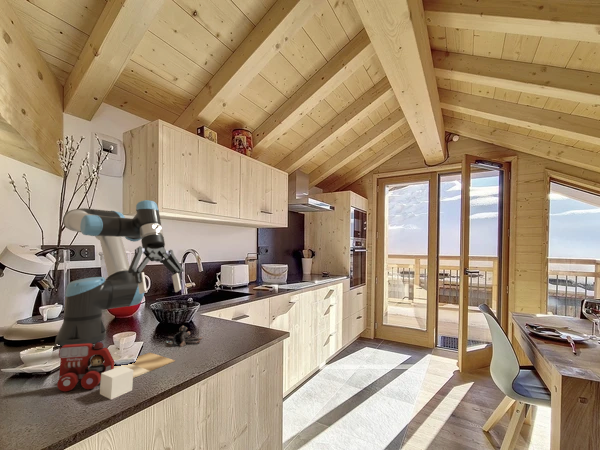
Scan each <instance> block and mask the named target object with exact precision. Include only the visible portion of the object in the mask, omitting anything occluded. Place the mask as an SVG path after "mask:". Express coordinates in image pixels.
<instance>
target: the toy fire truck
mask: <svg viewBox="0 0 600 450" xmlns="http://www.w3.org/2000/svg"><path fill="white" fill-rule="evenodd" d="M58 357H59V358H60V363H59V374H58V381H57V389H58V390H59V391H61V392H69V391H72V390H73V389H74V388H75V387H76V386H78V383H79V382H80V384H81V387H82V388H84V389H85V390H91V389H94V388H96V387H97V386H98V385H99V384H100V383H101V373H103V372H106V371H109V370H112V369H114V365H115V359H114V358H113V355H112V354H111V351H110V350H109V348H107V347H104V342H102V341H99V342H96V343H93V344H91V343H87V344H72V345H64V346H62V347H59V349H58Z"/></svg>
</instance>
